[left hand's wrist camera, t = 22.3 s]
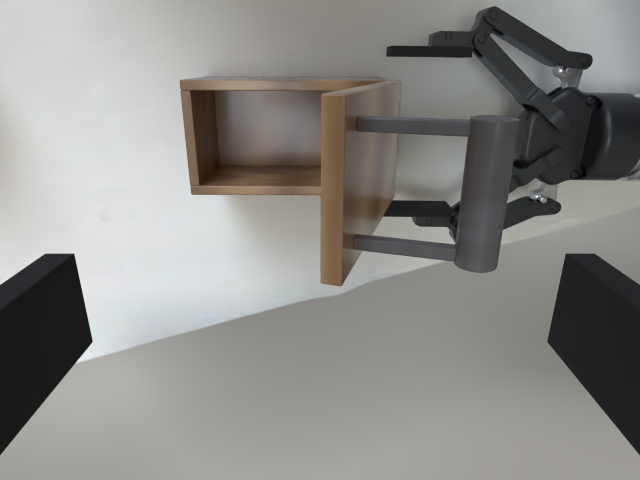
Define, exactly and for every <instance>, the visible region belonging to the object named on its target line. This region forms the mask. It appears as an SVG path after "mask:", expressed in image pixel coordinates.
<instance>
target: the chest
mask: <svg viewBox="0 0 640 480" xmlns="http://www.w3.org/2000/svg"><path fill="white" fill-rule="evenodd" d="M384 81H392V80H387V79H383V78H379V77H202V78H193V79H185V80H180V88H181V100H182V109H183V119H184V129H185V138H186V148H187V158H188V168H189V177H190V186H191V194H192V195H321V95H322V94H324V93H329V92H334V91H339V90H344V89H349V88H354V87H359V86H364V85H369V84H374V83H379V82H384Z"/></svg>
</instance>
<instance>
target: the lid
mask: <svg viewBox="0 0 640 480" xmlns="http://www.w3.org/2000/svg"><path fill="white" fill-rule="evenodd" d="M400 94H401V81H384V82H379V83H374V84H369V85H364V86H359V87H354V88H349V89H344V90H339V91H334V92H329V93H324V94H322V95H321V283H322V284H329V285H336V286H342V284H343V283H344V281H345V279H346V278H347V276H348V274H349V273H350V271H351V269H352V268H353V266H354V264H355V262H356V261H357V259H358V257H359V256H360V254H361V252H362V251H370V252H378V253H387V254H395V255H404V256H412V257H421V258H429V259H437V260H446V261H454V264H455V265H456V266H457V267H459V268H461V269H463V270H467V271H471V272H478V273H484V272H491V271H493V270H495V269H496V267H497V263H498V257H499V250H500V244H501V237H502V231H503V225H504V218H505V212H506V205H507V199H508V192H509V186H510V180H511V173H512V167H513V160H514V154H515V147H516V141H517V135H518V128H519V122H520V121H519V119H518V118H514V117H507V116H473V117H471V118H470V120H463V119H434V118H406V117H399V110H400ZM398 133H400V134H423V135H445V136H467V137H468V142H467V150H466V159H465V167H464V176H463V184H462V193H461V201H460V210H459V218H458V227H457V235H456V244H455V245H453V244H444V243H435V242H425V241H416V240H407V239H398V238H388V237H379V236H371V235H372V234H373V232H374V230H375V229H376V227H377V225H378V224H379V222H380V220H381V219H382V217H383V215H384V213H385V212H386V210H387V208H388V207H389V205H390V203H391V202H392V200H393V198H394V190H395V174H396V158H397V142H398Z"/></svg>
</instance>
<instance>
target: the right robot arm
mask: <svg viewBox="0 0 640 480" xmlns="http://www.w3.org/2000/svg"><path fill="white" fill-rule="evenodd" d="M491 33H493V34H495V35H496V36H498V37H500V38H501V39H503V40H505V41H506V42H508V43H509V44H511V45H513V46H514V47H516V48H518V49H519V50H521V51H523V52H524V53H526V54H528V55H529V56H531V57H532V58H534V59H536V60H537V61H539V62H541V63H543V64H545V65H547V66H551V67H554V68H553V74H554V76H555V77H557V78H559V79H560V80H561V87H558V88H556V89H555V90H553V91H552V92H550V93H549V94H547V95H546V94H545V93H544V92H543V91H542V90H541V89H540V88H538V87H537V86H535V84H534V83H533V82H532V81H531V80H530V79H529V78H528V77H527V76H526V75H525V74H524V73H523V71H522V70H521V69H520V68H519V67H518V66H517V65H516V64H515V63H514V62H513V61H512V60H511V59H510V57H509V56H508V55H507V54H506V53H505V52H504V51H503V50H502V49H501V48H500V47H499V46H498V45H497V43H496V42H495V41H494V40H493V39H492V38H491V37H490V34H491ZM472 53H473V54H474V55H475V56H476V57H477V58H478V59H479V60H480V61H481V62H482V63H483V64H484V65H485V66H486V67H487V68H488V69H489V71H490V72H491V73H492V74H493V75H494V76H495V77H496V78H497V79H498V80H499V81H500V82H501V83H502V84H503V85H504V86H505V87H506V88H507V89H508V91H509V92H510V93H511V94H512V95H513V96H514V98H515V100H516V101H517V102H518V103H519V104H520V105H521V106H522V107H523V108H524V109H525V110H524V111H523V112H522V113H521V115H520V117H517V118H518V119H519V121H520V122H519V128H518V135H517V141H516V147H515V154H514V157H515V159H514V160H513V167H512V173H511V180H510V186H509V192H508V194H509V193H510V192H512V191H513V190H515V189H516V188H517V187H519V186H523V185H526V184H527V183H529V182H530V181H532V180H533V179H534V178H537V179H538V180H540V181H542V185H541V187H540V188H538V189H536V190H534V191H531V192H530V196H526V197H522V198H519V199H516V200H514V201H512V202H509V203H507V205H506V212H505V218H504V225H503V230H504V229H506V228H508V227H511V226H513V225H515V224H518V223H520V222H523V221H525V220H527V219H530V218H532V217H534V216H541V215H552V214H557V213H558V212H559V211H560V210H561V205H560V203H558V202H557V201H556V194H557V184H559V183H561V182H563V181H566V180H617V179H620V180H625V181H640V94H634V95H631V94H627V93H584V92H582V91H580V90H578V89H577V88H578V85H579V81H580V78H581V75H582V72H583V69H587V68H589V67H590V66H591V64H592V61H593V59H592V56H591V55H589V54H586V53H579V52H572V51H567V50H565V49H564V48H562V47H561V46H559V45H557V44H556V43H554V42H553V41H551V40H549V39H548V38H546V37H544V36H543V35H541V34H540V33H538V32H536V31H535V30H533V29H532V28H530V27H528V26H527V25H525V24H524V23H522V22H520V21H519V20H517V19H516V18H514V17H512V16H511V15H509V14H507V13H506V12H504V11H503V10H501V9H499V8H498V7H495V6H494V7H490V8H487V9H484V10H481V11H479V12H478V14H477V16H476V21H475V23H474V25H473V27H472V29H471V30H470V31H468V32H458V31H439V32H435V33H433V34H430V35H429V45H428V46H389V47H387V56H392V57H458V58H463V57H472ZM459 210H460V201H459V202H458V203H456V204H455V205H454V206H452V207H450V206H449V205H448V204H447V203H446V202H445V201H397V200H392V202H391V203H390V205H389V207H388V208H387V210H386V212H385V213H384V215H383V216H388V217H413V218H412V220H413V221H414V223H415V224H416V225H418V226H424V227H426V226H427V227H430V226H431V227H448V228H449V234H450V236H451V237H452V239H453V240H454V241H455V242H456V235H457V227H458V218H459Z"/></svg>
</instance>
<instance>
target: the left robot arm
mask: <svg viewBox="0 0 640 480" xmlns="http://www.w3.org/2000/svg"><path fill="white" fill-rule="evenodd" d="M92 342H93V341H92V336H91V331H90V327H89V322H88V317H87V312H86V308H85V303H84V298H83V293H82V289H81V284H80V279H79V274H78V270H77V265H76V260H75V256H74V254H44V255H43V256H41V257H40V258H39V259H37V260H36V261H34V262H33V263H31V264H30V265H28V266H27V267H26V268H24V269H23V270H21V271H20V272H18V273H17V274H15V275H14V276H13V277H11V278H10V279H8V280H7V281H5V282H4V283H2V284H1V285H0V455H1V453H2V452H3V451H4V450H5V449H6V447H7V446H8V445H9V444H10V442H11V441H12V440H13V439H14V438H15V436H16V435H17V434H18V433H19V431H20V430H21V429H22V428H23V426H24V425H25V424H26V423H27V422H28V420H29V419H30V418H31V417H32V415H33V414H34V413H35V412H36V411H37V409H38V408H39V407H40V406H41V404H42V403H43V402H44V401H45V400H46V398H47V397H48V396H49V395H50V393H51V392H52V391H53V390H54V389H55V387H56V386H57V385H58V384H59V382H60V381H61V380H62V379H63V377H64V376H65V375H66V374H67V373H68V371H69V370H70V369H71V368H72V366H73V365H74V364H75V363H76V362H77V360H78V359H79V358H80V357H81V355H82V354H83V353H84V352H85V351H86V349H87V348H88V347H89V346H90V344H91V343H92ZM547 342H548V343H549V344H550V346H551V347H552V348H553V349H554V351H555V352H556V353H557V354H558V355H559V357H560V358H561V359H562V360H563V362H564V363H565V364H566V365H567V366H568V368H569V369H570V370H571V371H572V373H573V374H574V375H575V376H576V378H577V379H578V380H579V381H580V382H581V384H582V385H583V386H584V387H585V389H586V390H587V391H588V392H589V393H590V395H591V396H592V397H593V398H594V400H595V401H596V402H597V403H598V404H599V406H600V407H601V408H602V409H603V411H604V412H605V413H606V414H607V415H608V417H609V418H610V419H611V420H612V422H613V423H614V424H615V425H616V426H617V428H618V429H619V430H620V431H621V433H622V434H623V435H624V436H625V437H626V439H627V440H628V441H629V442H630V444H631V445H632V446H633V447H634V449H635V450H636V451H637V452H638V453H639V455H640V285H639V284H638V283H636V282H635V281H633V280H632V279H630V278H629V277H627V276H626V275H625V274H623V273H622V272H620V271H619V270H617V269H616V268H614V267H613V266H611V265H610V264H609V263H607V262H606V261H604V260H603V259H601V258H600V257H599V256H597V255H596V254H566V256H565V260H564V265H563V270H562V275H561V279H560V284H559V289H558V293H557V298H556V303H555V308H554V312H553V317H552V322H551V327H550V331H549V336H548V341H547Z"/></svg>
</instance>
